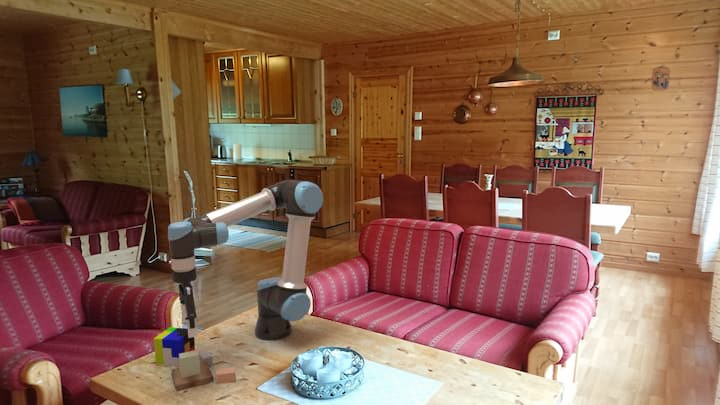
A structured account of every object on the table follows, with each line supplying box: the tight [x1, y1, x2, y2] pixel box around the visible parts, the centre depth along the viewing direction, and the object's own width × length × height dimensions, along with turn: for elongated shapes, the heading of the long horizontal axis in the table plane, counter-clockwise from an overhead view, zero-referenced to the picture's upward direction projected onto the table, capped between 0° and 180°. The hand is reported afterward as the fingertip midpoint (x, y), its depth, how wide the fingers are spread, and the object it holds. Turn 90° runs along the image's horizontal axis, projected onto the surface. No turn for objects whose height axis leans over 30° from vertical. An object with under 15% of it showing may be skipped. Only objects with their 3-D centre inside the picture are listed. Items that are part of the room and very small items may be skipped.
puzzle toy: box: [153, 326, 196, 367], centre depth 179 cm, size 10×10×10 cm
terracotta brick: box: [215, 367, 236, 385], centre depth 164 cm, size 6×4×4 cm, turn 103°
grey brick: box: [198, 349, 214, 367], centre depth 176 cm, size 6×4×4 cm, turn 33°
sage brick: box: [179, 349, 201, 378], centre depth 164 cm, size 6×4×7 cm, turn 118°
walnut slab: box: [170, 361, 214, 392], centre depth 165 cm, size 12×12×2 cm
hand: (189, 329), depth 163 cm, fingers open, 13 cm apart
